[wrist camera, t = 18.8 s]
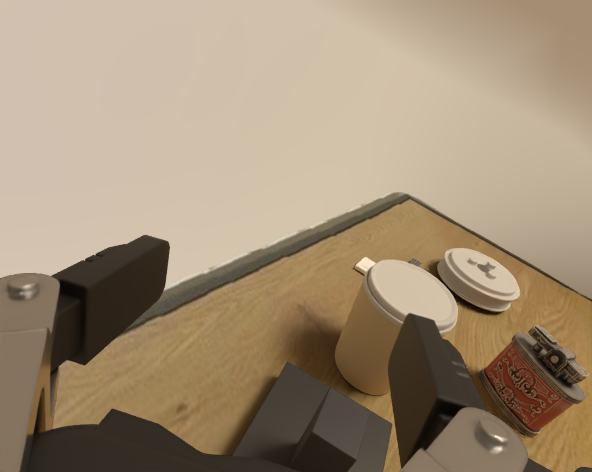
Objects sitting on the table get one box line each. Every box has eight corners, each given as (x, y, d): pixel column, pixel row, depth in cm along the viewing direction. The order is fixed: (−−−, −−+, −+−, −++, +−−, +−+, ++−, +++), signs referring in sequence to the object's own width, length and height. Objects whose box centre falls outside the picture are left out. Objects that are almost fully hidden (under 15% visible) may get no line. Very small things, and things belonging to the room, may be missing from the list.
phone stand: (382, 243, 63) (385, 236, 62) (442, 279, 58) (447, 272, 58) (328, 291, 48) (332, 282, 47) (404, 345, 43) (410, 336, 42)
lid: (505, 287, 62) (522, 266, 60) (508, 329, 52) (529, 306, 49) (438, 254, 66) (452, 233, 63) (430, 287, 55) (445, 264, 53)
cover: (324, 689, 19) (408, 666, 14) (170, 564, 22) (186, 501, 16) (381, 437, 32) (435, 372, 27) (281, 376, 35) (311, 304, 29)
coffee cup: (419, 376, 40) (476, 305, 33) (373, 421, 34) (433, 344, 27) (360, 320, 45) (400, 249, 38) (310, 351, 38) (348, 271, 32)
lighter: (543, 434, 38) (612, 383, 33) (523, 439, 37) (591, 387, 31) (491, 369, 44) (542, 317, 39) (472, 372, 43) (523, 318, 37)
